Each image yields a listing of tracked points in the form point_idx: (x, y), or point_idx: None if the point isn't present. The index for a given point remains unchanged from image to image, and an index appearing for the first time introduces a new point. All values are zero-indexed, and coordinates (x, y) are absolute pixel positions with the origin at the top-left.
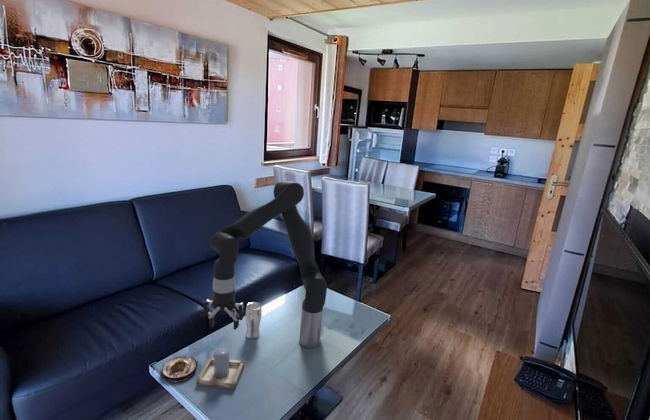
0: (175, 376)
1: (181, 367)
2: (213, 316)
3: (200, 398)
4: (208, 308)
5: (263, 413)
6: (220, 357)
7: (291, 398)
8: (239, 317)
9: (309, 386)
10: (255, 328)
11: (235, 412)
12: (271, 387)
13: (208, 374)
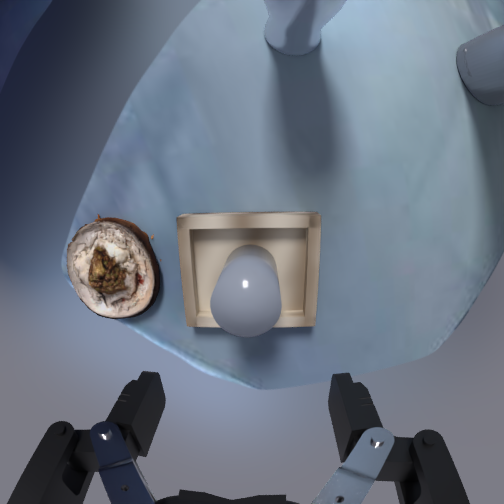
0: (119, 299)
1: (116, 286)
2: (130, 433)
3: (226, 355)
4: (65, 488)
5: (394, 363)
6: (252, 336)
7: (454, 310)
8: (399, 487)
9: (491, 263)
10: (317, 31)
11: (331, 376)
12: (413, 287)
13: (208, 281)
